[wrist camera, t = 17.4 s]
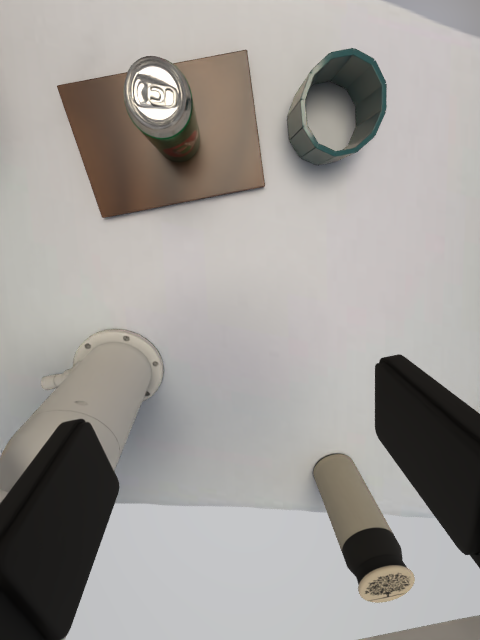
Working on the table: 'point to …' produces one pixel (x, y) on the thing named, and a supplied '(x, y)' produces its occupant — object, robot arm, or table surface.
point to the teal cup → (364, 91)
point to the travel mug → (362, 531)
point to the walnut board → (146, 161)
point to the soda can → (162, 107)
